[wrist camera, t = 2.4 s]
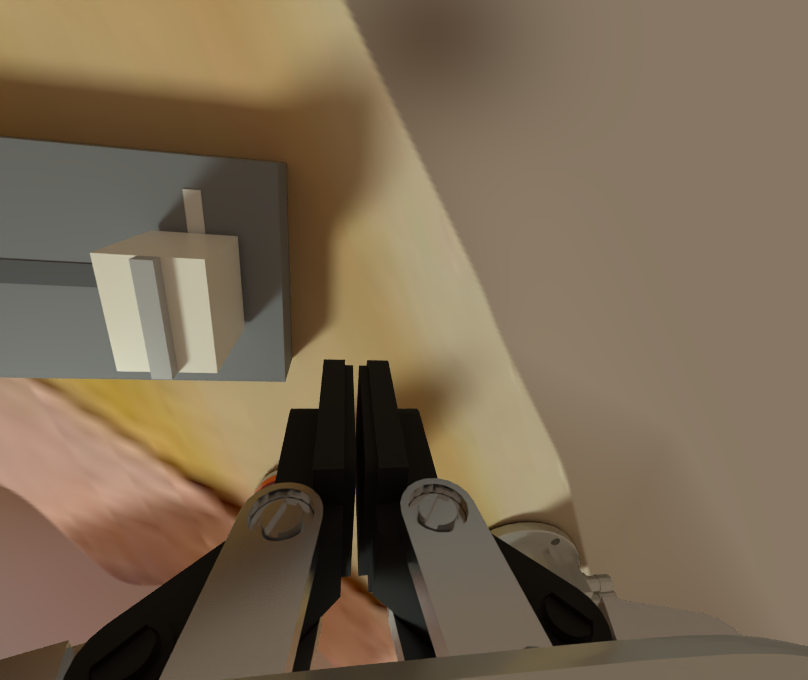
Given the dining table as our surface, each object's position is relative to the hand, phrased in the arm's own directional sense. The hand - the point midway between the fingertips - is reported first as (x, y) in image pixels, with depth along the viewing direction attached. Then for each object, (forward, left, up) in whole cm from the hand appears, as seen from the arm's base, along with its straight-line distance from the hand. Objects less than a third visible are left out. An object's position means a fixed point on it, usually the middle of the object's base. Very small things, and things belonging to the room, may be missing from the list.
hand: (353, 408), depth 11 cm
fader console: (+15, 0, -15) cm, 21 cm away
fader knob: (+8, 0, -12) cm, 14 cm away
